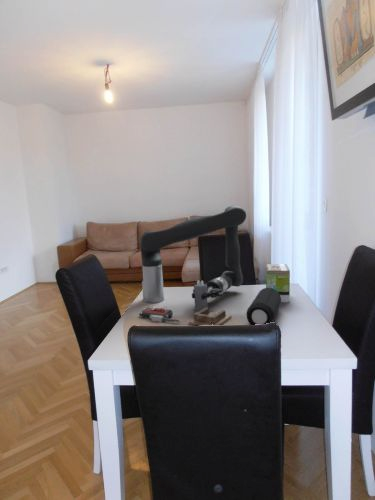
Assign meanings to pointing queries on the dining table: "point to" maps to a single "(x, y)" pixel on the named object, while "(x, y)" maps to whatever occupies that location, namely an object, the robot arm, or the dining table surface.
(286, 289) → the tea box
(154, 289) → the robot arm
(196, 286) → the connector plug
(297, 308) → the dining table surface
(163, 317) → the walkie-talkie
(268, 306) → the portable speaker
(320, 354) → the dining table surface
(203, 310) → the tray
